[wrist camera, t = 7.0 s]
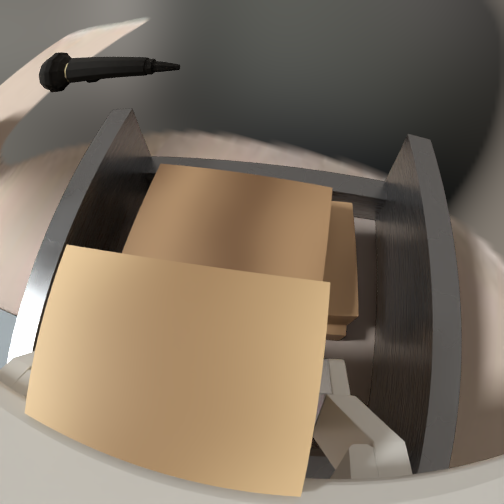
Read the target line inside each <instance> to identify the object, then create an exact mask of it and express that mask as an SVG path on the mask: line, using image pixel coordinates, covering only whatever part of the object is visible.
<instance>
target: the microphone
mask: <svg viewBox="0 0 504 504" xmlns="http://www.w3.org/2000/svg"><path fill="white" fill-rule="evenodd" d="M179 69H180V65H178V64H173V63H167V62H158V61H156V60H155V59H149V58H144V57H88V58H71V57H70V56H69V55H68V53H55V54H54V55H53V56H52V57H50V58H49V59H47V60H46V61H45V62H44V63H43V64H42V66H41V69H40V72H39V79H40V84H41V85H42V86H43V87H44V88H45V89H47V90H50V91H51V92H58V91H63V90H64V89H65V88H66V87H67V85H69V83H71V82H81V81H87V82H89V83H90V82H97V81H98V80H100V79H105V78H115V77H128V76H144V75H147V74H153V73H155V72H163V71H172V70H179Z"/></svg>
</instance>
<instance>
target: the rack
mask: <svg viewBox="0 0 504 504" xmlns="http://www.w3.org/2000/svg"><path fill="white" fill-rule="evenodd" d="M160 164H170V165H181V166H190V167H200V168H208V169H217V170H225V171H232V172H240V173H247V174H254V175H261V176H268V177H274V178H280V179H286V180H292V181H298V182H304V183H310V184H315V185H321V186H326V187H331V188H332V200H331V201H338V202H348V203H352V206H353V217H360V218H366V219H372V220H375V223H376V249H377V304H376V330H375V347H374V360H373V372H372V382H371V391H370V400H369V409H370V410H371V411H372V412H373V413H374V414H375V415H376V416H377V417H378V418H379V419H381V420H382V421H383V422H384V423H385V424H386V425H387V426H388V427H389V428H390V429H391V430H392V431H394V432H395V433H396V434H397V435H398V436H399V437H400V438H401V439H402V440H403V441H405V445H406V449H407V453H408V457H409V461H410V466H411V470H412V474H418V473H425V472H431V471H437V470H443V469H448V468H449V464H450V459H451V453H452V448H453V442H454V436H455V429H456V421H457V413H458V404H459V393H460V378H461V306H460V291H459V280H458V270H457V261H456V253H455V246H454V239H453V233H452V227H451V222H450V216H449V211H448V206H447V201H446V197H445V192H444V188H443V184H442V180H441V175H440V172H439V168H438V164H437V160H436V157H435V153H434V150H433V147H432V143H431V140H429V139H426V138H422V137H418V136H414V135H411V134H408V135H407V137H406V139H405V141H404V143H403V145H402V148H401V150H400V152H399V154H398V156H397V158H396V160H395V163H394V164H393V166H392V168H391V170H390V173H389V174H388V176H387V178H386V180H385V181H379V180H374V179H368V178H363V177H357V176H351V175H345V174H339V173H332V172H326V171H319V170H312V169H304V168H296V167H288V166H280V165H271V164H262V163H252V162H241V161H229V160H216V159H201V158H182V157H156V156H151V155H150V152H149V150H148V147H147V145H146V142H145V140H144V137H143V135H142V132H141V130H140V127H139V125H138V122H137V120H136V117H135V114H134V112H133V109H132V108H131V109H117V110H112V111H111V112H110V114H109V115H108V117H107V118H106V120H105V121H104V123H103V125H102V126H101V128H100V129H99V131H98V133H97V134H96V136H95V138H94V139H93V141H92V142H91V144H90V146H89V148H88V149H87V151H86V153H85V155H84V156H83V158H82V160H81V162H80V163H79V165H78V167H77V169H76V171H75V173H74V175H73V177H72V178H71V180H70V182H69V184H68V186H67V188H66V190H65V192H64V194H63V196H62V198H61V201H60V203H59V205H58V207H57V209H56V211H55V213H54V216H53V218H52V220H51V223H50V225H49V227H48V230H47V232H46V234H45V237H44V239H43V242H42V244H41V247H40V249H39V252H38V255H37V257H36V260H35V263H34V266H33V268H32V271H31V274H30V277H29V280H28V283H27V286H26V289H25V293H24V296H23V299H22V303H21V306H20V310H19V313H18V317H17V321H16V325H15V329H14V333H13V337H12V341H11V346H10V351H9V356H8V361H7V363H8V362H9V361H10V360H11V359H12V358H13V357H16V356H20V355H23V354H26V353H30V352H33V351H35V348H36V344H37V339H38V335H39V331H40V327H41V323H42V319H43V316H44V312H45V308H46V305H47V302H48V298H49V295H50V292H51V288H52V285H53V282H54V279H55V276H56V273H57V270H58V267H59V264H60V261H61V259H62V256H63V253H64V251H65V248H66V245H73V246H79V247H85V248H91V249H97V250H103V251H110V252H116V253H122V251H123V249H124V246H125V243H126V241H127V238H128V236H129V233H130V231H131V228H132V226H133V224H134V221H135V219H136V216H137V214H138V212H139V209H140V207H141V205H142V203H143V200H144V198H145V196H146V194H147V191H148V189H149V187H150V185H151V183H152V181H153V178H154V176H155V174H156V172H157V170H158V168H159V166H160ZM334 472H335V469H334V467H333V466H332V464H331V463H330V461H329V460H328V458H327V457H326V455H325V454H324V452H323V451H322V449H321V448H311V449H310V454H309V460H308V465H307V470H306V475H305V478H312V479H330V478H331V476H332V475H333V473H334Z"/></svg>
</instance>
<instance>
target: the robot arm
mask: <svg viewBox="0 0 504 504" xmlns="http://www.w3.org/2000/svg"><path fill="white" fill-rule="evenodd" d="M34 353H35V351H33V352H30V353H26V354H23V355H20V356H16V357H13V358H12V359H11V360H10V361H9V362H8V363H7V364H6V365H5V366H4V367H2V368H1V369H0V504H504V454H503V455H500V456H497V457H493V458H490V459H486V460H483V461H479V462H475V463H471V464H467V465H462V466H458V467H453V468H448V469H443V470H437V471H431V472H425V473H418V474H412V470H411V466H410V461H409V457H408V453H407V449H406V445H405V441H403V440H402V439H401V438H400V437H399V436H398V435H397V434H396V433H395V432H394V431H392V430H391V429H390V428H389V427H388V426H387V425H386V424H385V423H384V422H383V421H382V420H381V419H379V418H378V417H377V416H376V415H375V414H374V413H373V412H372V411H371V410H370V409H369V408H368V407H367V406H366V405H365V404H363V403H362V402H361V401H360V400H359V399H358V398H357V397H356V396H351V394H350V388H349V383H348V377H347V372H346V366H345V361H344V360H343V359H323V368H322V376H321V384H320V391H319V399H318V406H317V412H316V419H315V425H314V431H313V438H314V439H315V441H316V442H317V444H318V445H319V446H320V448H321V449H322V451H323V452H324V454H325V455H326V457H327V458H328V460H329V461H330V463H331V464H332V466H333V467H334V469H335V472H334V473H333V475H332V476H331V478H330V479H312V478H305V480H304V485H303V489H302V494H301V497H296V496H282V495H271V494H262V493H254V492H246V491H239V490H233V489H227V488H222V487H216V486H211V485H207V484H202V483H197V482H193V481H189V480H185V479H181V478H177V477H173V476H170V475H166V474H163V473H159V472H156V471H153V470H150V469H146V468H143V467H140V466H137V465H134V464H132V463H129V462H126V461H123V460H120V459H118V458H115V457H113V456H110V455H108V454H105V453H103V452H100V451H98V450H96V449H93V448H91V447H89V446H86V445H84V444H82V443H80V442H78V441H75V440H73V439H71V438H69V437H67V436H65V435H63V434H61V433H59V432H57V431H55V430H53V429H52V428H50V427H48V426H46V425H44V424H42V423H41V422H39V421H37V420H35V419H34V418H32V417H30V416H28V415H27V414H25V406H26V398H27V391H28V385H29V379H30V373H31V368H32V363H33V358H34Z"/></svg>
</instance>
